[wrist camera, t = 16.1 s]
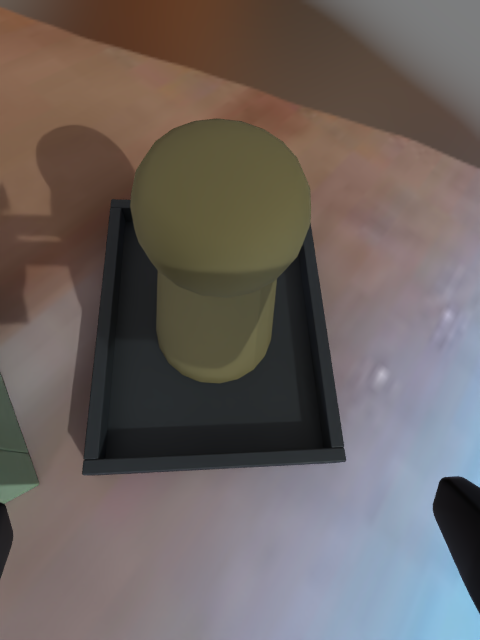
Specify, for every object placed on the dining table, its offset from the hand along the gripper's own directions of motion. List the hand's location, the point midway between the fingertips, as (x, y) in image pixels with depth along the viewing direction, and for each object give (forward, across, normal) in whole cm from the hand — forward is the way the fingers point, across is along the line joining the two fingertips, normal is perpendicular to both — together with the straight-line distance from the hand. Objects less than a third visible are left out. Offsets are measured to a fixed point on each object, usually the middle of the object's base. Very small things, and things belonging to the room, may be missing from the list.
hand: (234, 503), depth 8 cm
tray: (+13, 0, +1) cm, 13 cm away
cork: (+12, 0, +1) cm, 12 cm away
